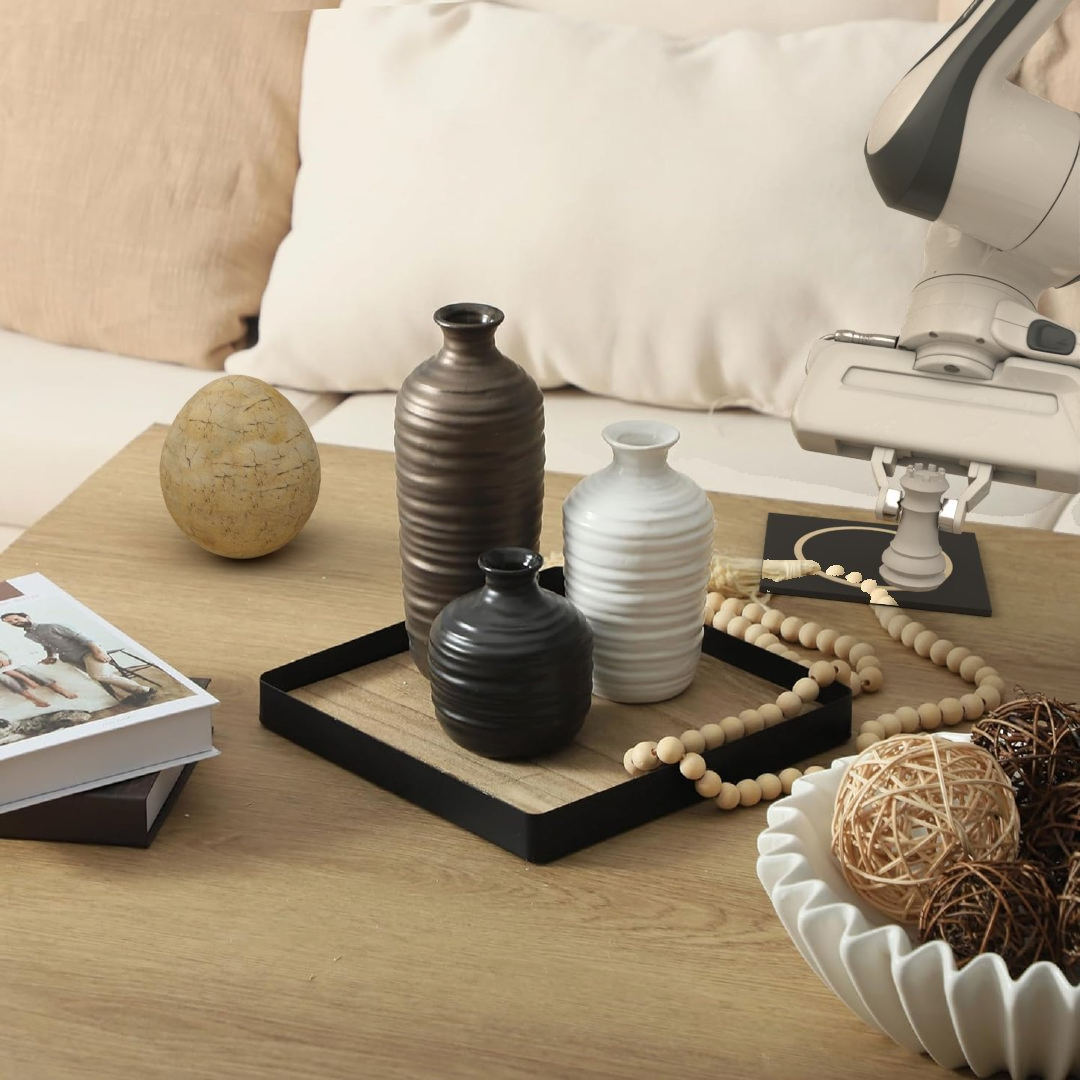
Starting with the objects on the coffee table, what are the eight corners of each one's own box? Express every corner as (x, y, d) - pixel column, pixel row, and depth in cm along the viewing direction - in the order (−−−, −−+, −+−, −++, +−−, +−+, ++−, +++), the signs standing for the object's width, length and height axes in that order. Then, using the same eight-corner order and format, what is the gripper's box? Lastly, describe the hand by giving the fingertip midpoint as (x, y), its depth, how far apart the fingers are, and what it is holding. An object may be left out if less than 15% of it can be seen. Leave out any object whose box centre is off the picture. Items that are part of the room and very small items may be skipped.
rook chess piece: (901, 561, 103) (915, 453, 100) (957, 581, 100) (974, 470, 97) (865, 578, 100) (878, 468, 97) (922, 599, 97) (937, 486, 94)
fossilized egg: (242, 511, 130) (233, 345, 124) (354, 546, 123) (351, 373, 117) (132, 558, 120) (117, 380, 114) (248, 598, 113) (239, 412, 107)
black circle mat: (974, 538, 129) (975, 531, 129) (991, 617, 115) (992, 608, 115) (767, 518, 132) (768, 510, 132) (759, 592, 118) (759, 583, 117)
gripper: (811, 303, 103) (760, 476, 99) (1119, 341, 96) (1078, 531, 91) (821, 349, 109) (773, 516, 105) (1113, 389, 101) (1074, 570, 97)
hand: (917, 523), depth 98 cm, fingers closed on rook chess piece, 3 cm apart
